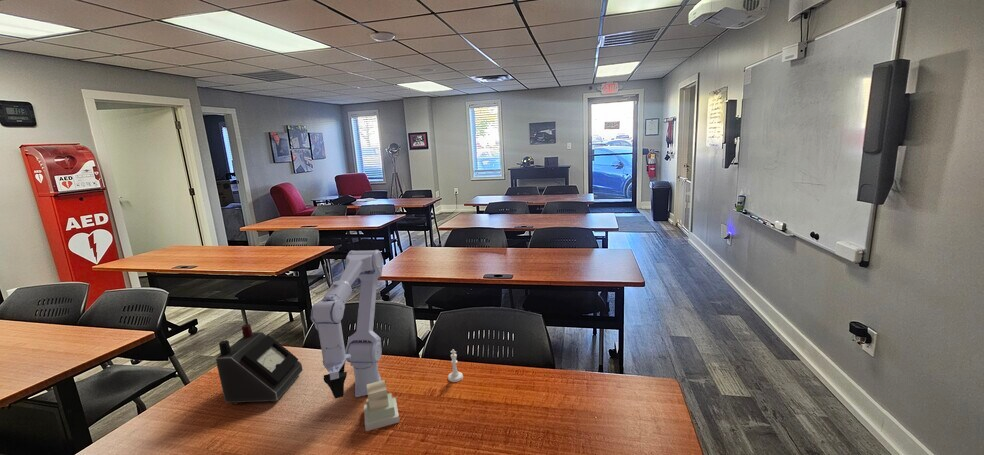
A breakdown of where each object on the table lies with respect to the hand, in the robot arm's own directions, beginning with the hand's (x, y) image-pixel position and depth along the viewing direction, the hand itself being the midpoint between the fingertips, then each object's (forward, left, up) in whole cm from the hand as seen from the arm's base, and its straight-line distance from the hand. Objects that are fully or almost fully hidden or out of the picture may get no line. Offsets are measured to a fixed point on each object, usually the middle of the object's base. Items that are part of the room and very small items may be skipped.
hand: (339, 388), depth 110 cm
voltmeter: (-27, -24, -11) cm, 38 cm away
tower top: (+2, +10, -8) cm, 13 cm away
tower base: (+2, +10, -11) cm, 15 cm away
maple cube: (+2, +10, -6) cm, 12 cm away
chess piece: (-8, +34, -11) cm, 37 cm away
